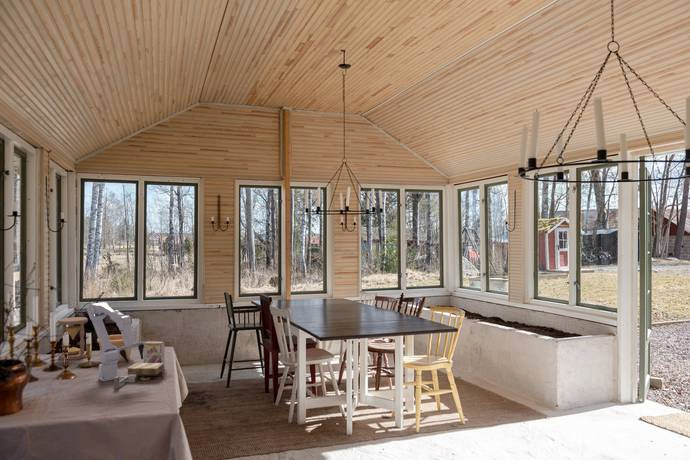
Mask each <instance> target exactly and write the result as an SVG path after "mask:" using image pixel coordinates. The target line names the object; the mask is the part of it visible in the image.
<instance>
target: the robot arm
mask: <svg viewBox="0 0 690 460" xmlns="http://www.w3.org/2000/svg"><path fill="white" fill-rule="evenodd" d="M86 312H87V314H88V316H89V319H90V321H91V322H92V325H93V328H94V330H95V333H96V335H97V339H99V341H100V344H101V347H102V349H101V350H100V349H99V351H98V355H99V361H100V363H101V364H99V365H98V380H100V381H101V382H107V381H114V378H115V377H117V376H118V363H117V362H118V360H119V359H120V357H121V356H122V357H123V358H124V359H125V361H124V362H125V363H126V364H129V360H128V359H127V355H126V351H125V350H128V349H131V350H132V349H134V348H137V347H138V349H137V350H138V352H139V356H140V359H141V360H144V345H145V342H146V341H145V340H142V341H137V342H136V338H135V334H134V331H133V327H132V323H133V319H132V317H131V315H129V314H126V315H125V314H124V313H122V312H120V310H119V309H117V310H114V309H113V308H111V307H110V305H109V303H108V302H106V301H103V302H97V303H89V304H88V306H87V311H86ZM106 316H109V318H110V320H111V321H113V322H114V323H116V326H117V327H118V329H119V331H120V333H121V335H122V337H123V340H124V344H125V346H123V347H120V348H117V347H116V346H114V345H112V344H111V341H110V339H109V336H110V335H109V334H108V331H107V329H106V326H105V323H104V321H103V319H105V318H106ZM130 347H131V348H130Z"/></svg>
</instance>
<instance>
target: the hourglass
mask: <svg viewBox="0 0 690 460" xmlns="http://www.w3.org/2000/svg"><path fill="white" fill-rule="evenodd" d="M88 320H89V319H88V318H87V317H86V316H84V317H83V316H75V317H73V316H72V317H65V318H61V319H58V321H57V323H58V325H61V328H62V329H61V335H62V337H63V335H64V333H65V332H66V333H67V334H69V336H70V337H71V340H75V337H76V336H77V334H78V333H79V337H80V341H79V348H78V347H75V346H72V347H70V348H68V349H67V350H68V356H67V357H68V360H67V361H75V360H81V359H84V358H85V359H86V358H87V357H86V352H87V351H86V350H85V343H86V342H85V340H84V337H85V323H88ZM69 325H70V326H69ZM61 346H62V348H63V339H62V341H61ZM63 353H64V352H63V351H62V353H60V354H58V360H61V361H65V360H64V354H63Z"/></svg>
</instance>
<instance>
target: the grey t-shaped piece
mask: <svg viewBox="0 0 690 460" xmlns="http://www.w3.org/2000/svg"><path fill="white" fill-rule="evenodd" d="M135 382H136V376H134V375H133V376H131V375H130V376H126V375H125V376H123V375H122V376H118V375H117V377H115V378H114V379H113V390H119V389H120V385H121V384H123V383H135Z"/></svg>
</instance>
